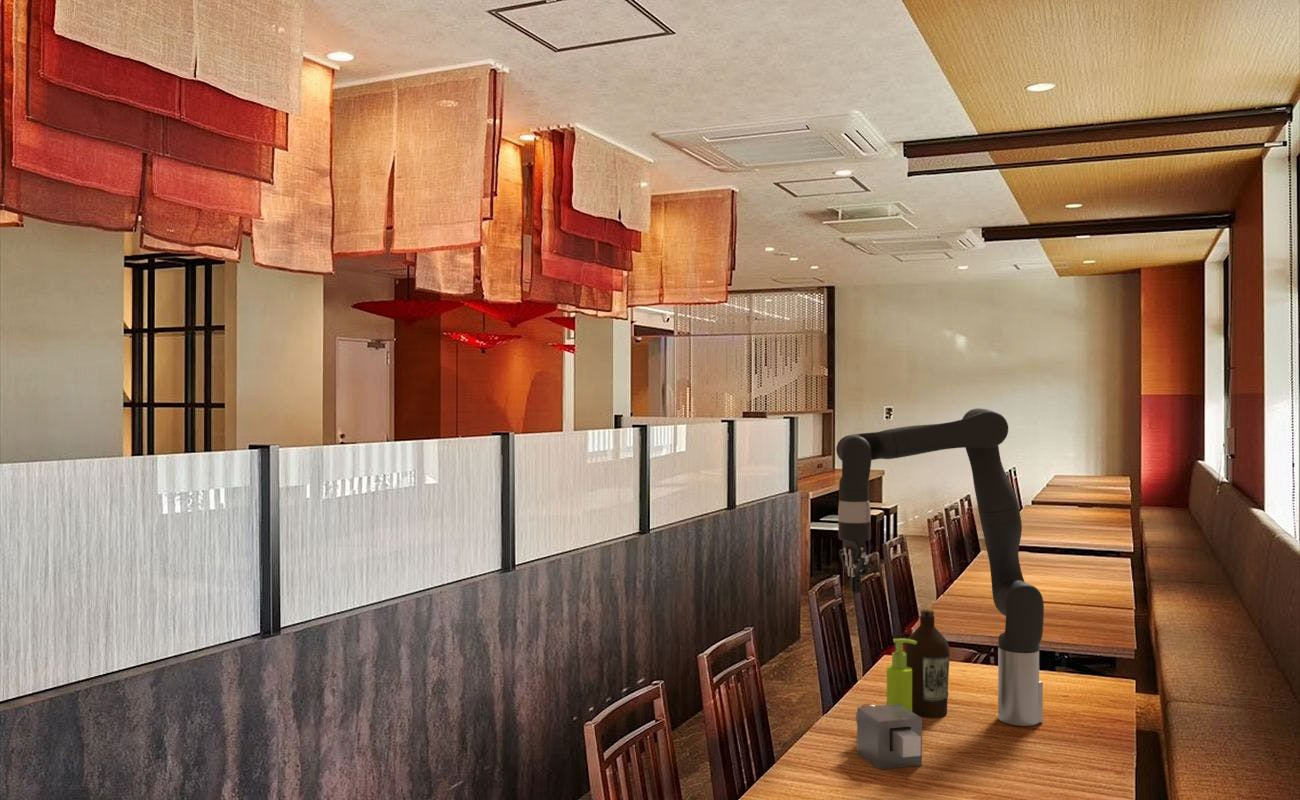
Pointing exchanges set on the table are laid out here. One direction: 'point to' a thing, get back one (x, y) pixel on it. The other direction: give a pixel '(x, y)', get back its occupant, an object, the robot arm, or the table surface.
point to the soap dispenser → (900, 677)
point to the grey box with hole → (885, 735)
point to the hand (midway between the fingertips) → (855, 592)
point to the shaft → (903, 740)
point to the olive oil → (928, 668)
